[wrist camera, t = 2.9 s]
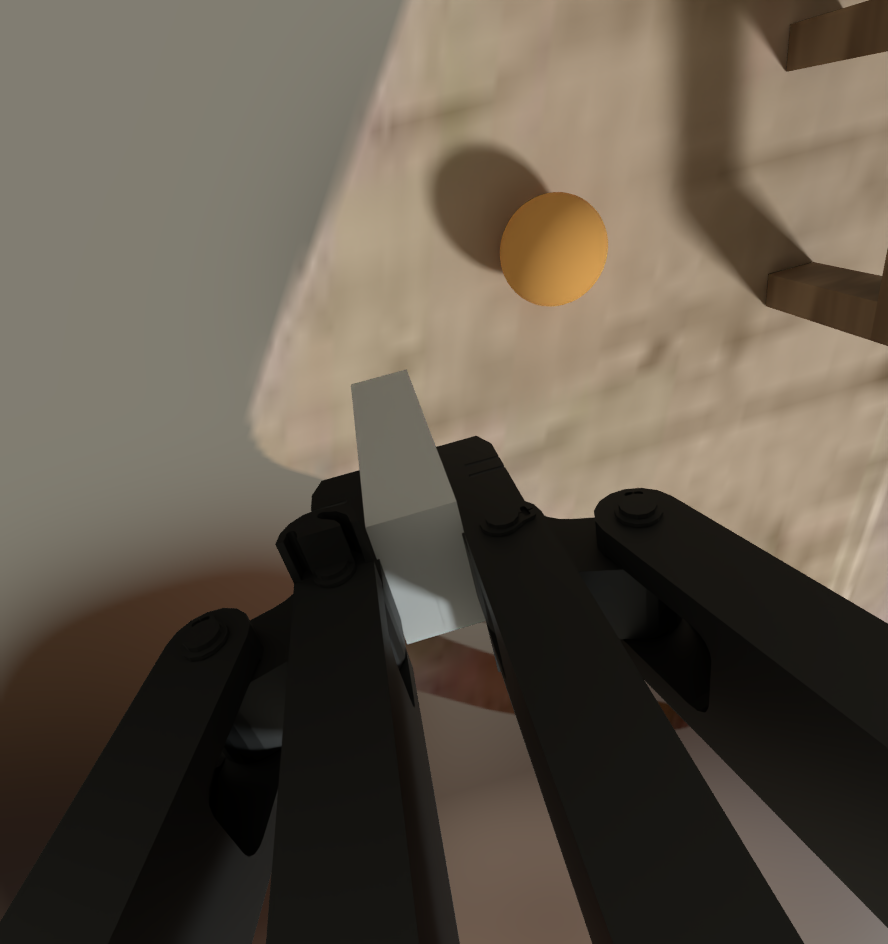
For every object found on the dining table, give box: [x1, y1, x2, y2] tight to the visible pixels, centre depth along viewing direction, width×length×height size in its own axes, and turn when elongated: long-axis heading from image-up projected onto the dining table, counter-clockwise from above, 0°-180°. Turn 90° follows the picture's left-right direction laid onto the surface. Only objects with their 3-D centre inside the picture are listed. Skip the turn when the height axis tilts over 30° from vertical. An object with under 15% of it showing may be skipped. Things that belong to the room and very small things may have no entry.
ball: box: [500, 192, 608, 306], centre depth 29 cm, size 6×6×6 cm
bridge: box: [766, 0, 888, 346], centre depth 28 cm, size 3×14×9 cm, turn 13°
